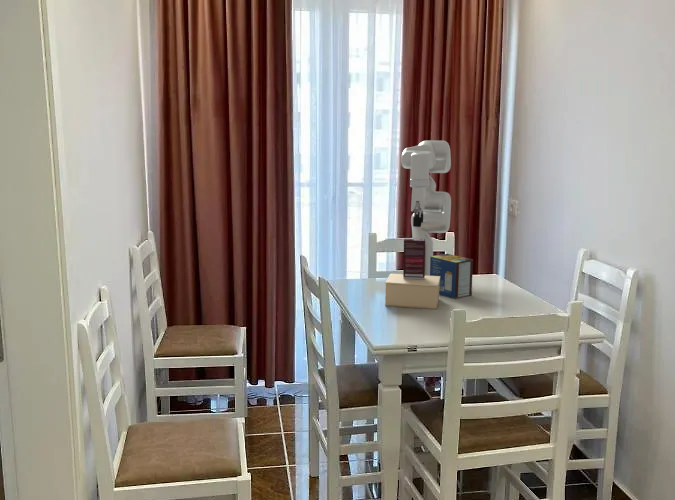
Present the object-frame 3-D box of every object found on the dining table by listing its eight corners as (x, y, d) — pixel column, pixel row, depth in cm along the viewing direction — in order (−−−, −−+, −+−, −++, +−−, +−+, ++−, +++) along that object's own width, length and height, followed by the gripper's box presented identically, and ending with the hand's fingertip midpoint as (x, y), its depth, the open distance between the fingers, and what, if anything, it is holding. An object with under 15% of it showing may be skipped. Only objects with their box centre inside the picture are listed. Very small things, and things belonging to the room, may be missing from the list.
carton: (390, 296, 283) (391, 275, 281) (438, 299, 279) (439, 277, 277) (385, 306, 268) (385, 283, 266) (436, 309, 264) (437, 286, 262)
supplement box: (424, 277, 275) (425, 238, 272) (424, 280, 270) (425, 240, 267) (403, 276, 276) (404, 237, 273) (402, 279, 271) (403, 239, 268)
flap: (390, 274, 281) (390, 273, 281) (440, 277, 277) (440, 276, 277) (385, 283, 266) (385, 282, 266) (437, 286, 262) (437, 285, 262)
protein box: (445, 288, 298) (447, 253, 295) (472, 295, 286) (473, 259, 283) (428, 291, 292) (429, 256, 289) (454, 299, 280) (456, 262, 277)
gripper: (412, 180, 287) (411, 220, 291) (408, 185, 270) (406, 228, 274) (430, 181, 285) (428, 221, 289) (427, 186, 269) (425, 228, 272)
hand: (418, 224), depth 281 cm, fingers open, 9 cm apart
